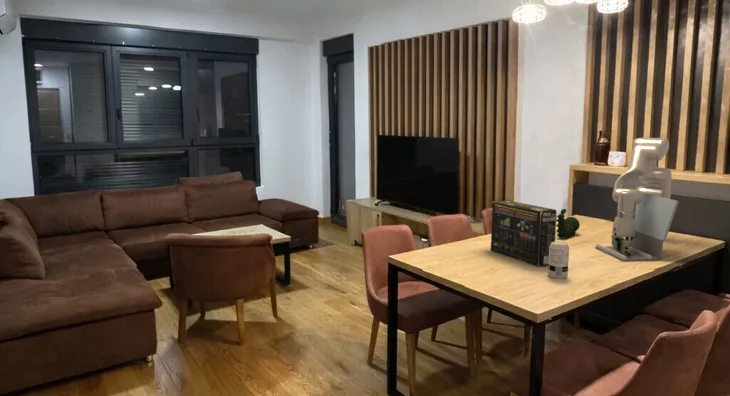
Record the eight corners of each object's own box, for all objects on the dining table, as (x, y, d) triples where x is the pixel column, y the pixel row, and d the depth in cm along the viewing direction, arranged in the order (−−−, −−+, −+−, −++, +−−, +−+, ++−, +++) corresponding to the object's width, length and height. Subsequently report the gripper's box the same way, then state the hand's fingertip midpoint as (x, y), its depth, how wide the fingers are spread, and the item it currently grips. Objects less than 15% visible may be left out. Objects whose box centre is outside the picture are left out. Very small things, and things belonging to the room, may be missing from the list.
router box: (555, 264, 245) (558, 209, 241) (538, 267, 240) (541, 211, 236) (505, 248, 277) (507, 199, 273) (489, 250, 272) (490, 200, 268)
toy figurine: (567, 243, 292) (583, 232, 310) (568, 212, 288) (584, 202, 306) (551, 241, 299) (568, 230, 316) (551, 210, 295) (568, 201, 312)
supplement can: (544, 273, 230) (546, 241, 228) (562, 273, 231) (564, 241, 229) (552, 279, 222) (554, 245, 220) (570, 278, 223) (572, 245, 221)
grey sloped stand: (630, 247, 277) (631, 228, 275) (661, 260, 251) (663, 240, 249) (595, 248, 275) (596, 229, 274) (623, 261, 249) (624, 241, 248)
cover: (631, 228, 275) (633, 229, 275) (663, 239, 249) (665, 240, 250) (643, 193, 273) (645, 193, 273) (676, 200, 247) (679, 201, 247)
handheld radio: (617, 245, 275) (633, 257, 250) (610, 245, 275) (625, 257, 251) (618, 233, 274) (634, 244, 249) (611, 233, 274) (627, 244, 250)
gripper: (636, 213, 264) (633, 247, 267) (605, 213, 263) (603, 248, 266) (645, 216, 257) (642, 251, 260) (614, 216, 256) (611, 252, 258)
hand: (622, 249), depth 263 cm, fingers closed on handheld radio, 2 cm apart
